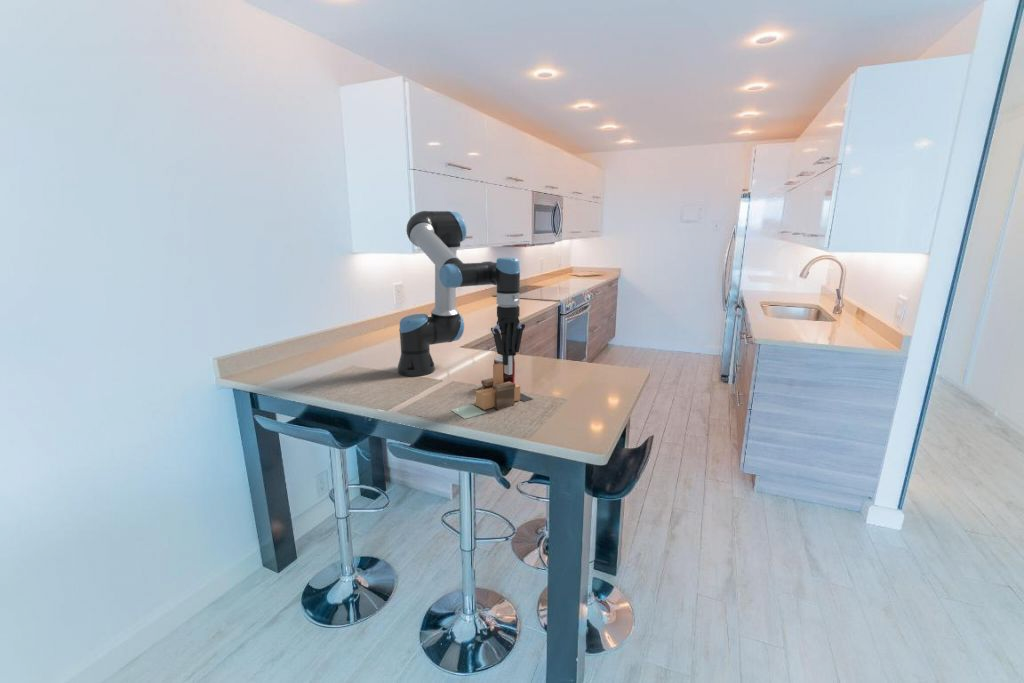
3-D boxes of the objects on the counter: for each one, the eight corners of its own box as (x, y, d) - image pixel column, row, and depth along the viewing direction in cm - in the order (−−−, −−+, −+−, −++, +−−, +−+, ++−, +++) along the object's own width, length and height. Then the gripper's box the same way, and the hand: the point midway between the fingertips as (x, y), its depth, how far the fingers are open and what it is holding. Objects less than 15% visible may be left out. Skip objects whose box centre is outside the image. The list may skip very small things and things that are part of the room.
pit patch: (510, 395, 167) (510, 394, 167) (519, 392, 169) (519, 392, 169) (524, 401, 160) (524, 401, 160) (533, 399, 163) (533, 398, 163)
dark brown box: (481, 401, 161) (481, 380, 159) (498, 397, 165) (498, 376, 163) (498, 410, 153) (498, 388, 151) (515, 405, 157) (515, 383, 155)
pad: (450, 410, 153) (450, 409, 153) (471, 404, 158) (471, 404, 158) (465, 419, 146) (465, 418, 146) (486, 413, 151) (486, 412, 151)
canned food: (503, 381, 181) (502, 354, 179) (519, 386, 176) (519, 358, 174) (489, 386, 176) (489, 358, 173) (506, 391, 171) (505, 362, 168)
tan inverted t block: (475, 405, 156) (475, 366, 153) (511, 395, 165) (511, 358, 162) (484, 409, 152) (483, 369, 149) (520, 399, 161) (520, 362, 158)
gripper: (498, 308, 147) (499, 380, 152) (530, 304, 154) (530, 372, 160) (485, 305, 152) (486, 374, 158) (516, 302, 160) (516, 367, 166)
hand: (508, 373), depth 159 cm, fingers closed
